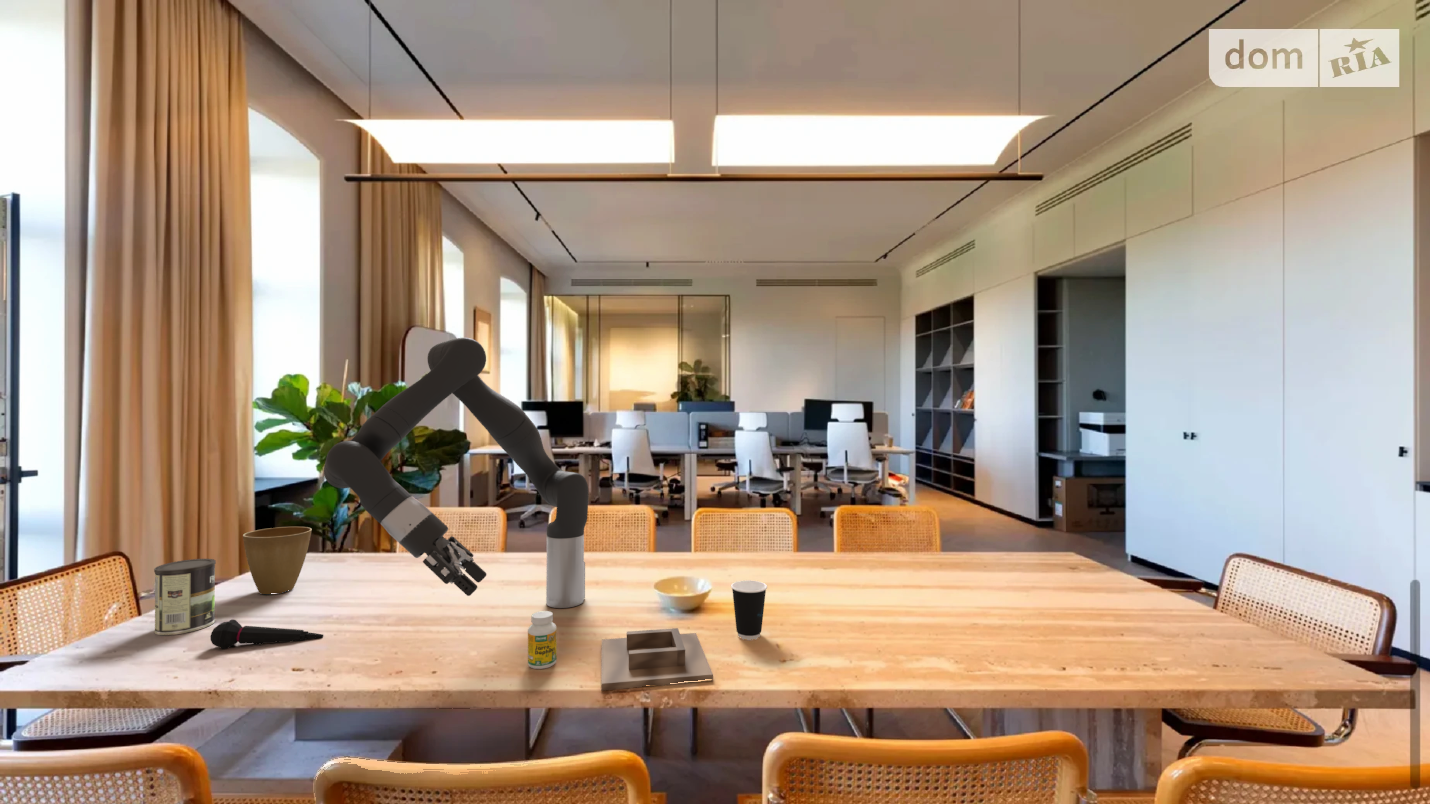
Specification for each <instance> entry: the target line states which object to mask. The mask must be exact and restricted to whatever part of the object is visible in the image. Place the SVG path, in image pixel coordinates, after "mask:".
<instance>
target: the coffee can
mask: <svg viewBox="0 0 1430 804" xmlns="http://www.w3.org/2000/svg"><path fill="white" fill-rule="evenodd" d="M216 564H217V563H216V560H215V559H213V558H192V559H184V560H177V561H172V562H168V563H164V564H161V565H158V566H156V567H154V568H153V572H154V632H153V633H154V634H155V635H157V636H173V635H181V634H186V633H190V632H192V633H193V632H194V631H198V630H202V629H205V628H208V627H210V626H212V625H213V624H214V623H215V622H216V618H215V615H216V614H215V611H216V610H215V609H216V608H215V607H216V605H215V602H216V601H215V598H216V595H215V592H216V591H215V589H216V585H215V584H216V582H215V579H216Z"/></svg>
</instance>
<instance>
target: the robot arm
mask: <svg viewBox="0 0 1430 804" xmlns="http://www.w3.org/2000/svg"><path fill="white" fill-rule="evenodd" d="M486 364H487V354H486V351H485V349H484V346H483V345H482V344H481V343H480V342H479V341H477V340H475V339H473V338H471V337H457V338H454V339H450V340H446V341H442V342H440V343H438V344H435V345H434V346H432V347H431V348H430V350H429V351H428V354H427V365H428V368H429V370H430V371H429V372H427V373H426V374H425V375H424V376H423V377H421V378H420V379H419V380H417V381H416V382H414V383H413V384H411V385H410V386H408V387H407V388H405V389H404V390H402V391H401V392H399V393H397V394H396V395H394V397H391V398H390V399H389V400H388V401H387V402H385V404H383V405H382V406H381V407H380V408H379V409H378V410H377V411H375V412H374V413H373V414H371V416H370V417H369V418H368V419H366V421H364V423H363V424H362V425H361V427H360V428H359V430H358V432H357V433H356V434H355V435H354V436H353V437H352V438H351V439H350V440H343V441H340V442H338V443H336V444H334V445H333V446H332V447H331V448H330V450H329V451H328V452H327V455H326V457H325V463H324V467H323V475H324V478H325V480H326V481H327V483H328V484H329V485H331V486H333V487H335V488H337V489H351V490H352V491H353V492H354V494H356V496H357V497H358V498H359V502H360V505H361V506H362V508H363V509H364V510H365V511H366V512H367V513H368V514H369V515H370V516H372V518H374V520H375V521H377V522H378V523H379V524H380V525H381V526H382V527H383V529H384V530H385V531H386V532H387V533H388V534H389V535H390V536H391V537H392V538H393V539H394V540H395V541H396V542H397V543H398V544H399V545H401V546H402V547H403V548H404V549H405V550H406V551H407V552H408V553H409V554H411V555H412V556H413V557H414V558H415V559H418V558H421V557H422V556H423V555H424V554H425V555H426V557H425V558H424V559H423V560H422V563H423V565H425V566H426V567H427V568H429V570H430V571H431V572H432V573H433V574H434V575H436V577H438V579H440V580H441V581H442V582H443V583H444V584H445V585H448V584H451V585H453V584H454V585H455V586H456V587H457V588H458V589H459V590H460V591H461V592H463V594H465V596H467V597H470V596H472V594H473V593H474V592H475V591H476V590H477V589H478V585H477V584H476V583H480V582H481V581H483V580H484V579H485V577H486V576H487V572H486V571H485V570H484V569H482V568H481V567H480V566H479V565H478V564H477V563H476V562H475V559H474V558H473V557H474V554H473V553H472V552H471V551H470V550H469V549H468V548H466V547H465V545H463V544H462V542H460V541H459V540H458V539H456V538H455V537H454V536H453V535H451V536H450V537H449V538H445V536H444V535H445V534H447V532H448V531H449V526H447V525H446V524H445V523H444V522H443V521H442V520H441V519H440V518H439V517H437V515H436V514H435V513H433V512H432V511H431V510H430V509H429V508H428V507H427V505H425V504H424V503H422V502H421V501H419V500H418V499H416V498H415V497H414V496H413V495H412V494H410V492H408V491H407V490H406V489H405V488H404V487H403V486H402V485H401V484H399V483H398V482H397V481H396V480H395V479H394V478H393V476H392V475H391V474H390V472H389V471H388V469H387V468H386V467H385V466H384V464H383V463H382V461H383V459H384V458H385V457H386V455H387V454H388V453H389V452H390V451H392V449H394V448H395V446H397V445H398V444H399V443H400V442H401V441H402V440H403V439H405V437H407V435H408V434H409V433H410V432H412V430H413V429H414V428H415V427H417V425H418V424H419V423H420V422H421V421H422V420H423V419H424V418H425V417H426V416H427V415H429V414H430V412H432V411H433V410H434V409H435V408H436V407H438V406H439V405H440V404H441V403H442V402H443V401H445V400H446V399H447V398H448V397H449V396H450V395H451V394H452V395H454V396H455V397H456V398H457V399H458V400H459V401H460V402H461V403H462V404H463V405H464V406H465V407H466V408H467V409H468V410H469V412H470V413H471V414H472V415H473V416H474V418H475V419H477V421H478V422H479V423H480V424H481V426H482V427H483V428H484V429H485V430H486V431H487V432H488V433H489V435H490V436H491V437H492V438H493V440H494V441H495V442H496V443H497V445H499V446H500V448H501V449H502V450H504V452H505V453H506V454H507V456H509V457H510V458H511V459H512V461H513V462H514V463H515V464H516V465H517V466H518V467H519V469H521V470H522V471H523V473H525V475H526V476H527V477H528V479H529V480H530V482H531V483H532V484H533V486H534V488H535V490H536V491H537V492H538V494H539V495H540V497H541V498H542V499H543V500H544V501H545V502H546V503H547V504H549V505H550V506H552V507H555V508H556V514H555V519H554V520H553V521H551V522H549V523H548V524H547V526H546V585H545V589H546V591H545V592H546V593H545V594H546V598H545V602H546V606H548V607H550V608H553V609H554V608H555V609H567V608H573V607H577V606H580V605H581V604H583V603H584V599H585V598H586V562H585V527H586V525H587V521H588V513H589V495H590V494H589V493H590V492H589V485H588V482H587V479H586V478H585V476H584V475H582V474H580V473H578V472H573V471H565V470H562V469H561V468H560V467H559V466H558V465H557V464H556V463H555V462H554V461H553V460H552V459H551V458H550V456H549V455H548V454H547V452H546V450H545V448H544V445H543V441H542V437H541V434H540V432H539V429H538V427H537V426H536V425H535V424H534V422H533V421H532V419H530V417H529V416H528V415H527V414H526V412H524V410H523V409H522V408H521V407H520V406H518V404H516V403H514V401H512V400H510V399H509V398H507V397H505V396H504V395H502V394H500V393H499V392H497V391H496V390H494V389H493V388H492V387H490V386H488V385H487V384H486V383H485V381H483V380H482V378H481V377H480V376H479V375H480V374H481V373H482V372H483V370H484V369H485V366H486ZM462 570H464V573H463V571H462ZM465 573H466V574H467V575H469V576H470V577H471V578H472V579H473V580H474V581H475V582H476V583H475V582H474V581H472V579H470V578H469V577H468V576H467V575H466V574H465Z"/></svg>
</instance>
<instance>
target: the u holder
mask: <svg viewBox="0 0 1430 804" xmlns="http://www.w3.org/2000/svg"><path fill="white" fill-rule="evenodd" d="M704 651H705V650H704V649H703V646H702V644H701V642H700V640H699V637H698V634H697V632H689V633H680V630H679V628H678V627H676V628H673V627H672V628H661V629H646V630H645V629H644V630H627V631H626V637H617V638H605V639H602V638H601V671H600V672H601V675H600V676H601V680H600V681H601V688H600V689H601V690H600V691H610V690H611V691H613V690H626V689H634V688H633V687H637V688H643V687H642V686H646V685H661V686H665V685H664V684H670V683H678V682H684V681H698V680H705V679H713V680H714V673H713V671H712V668H711V666H710V664H709V661H708V659H707V657H706V654H705V652H704Z"/></svg>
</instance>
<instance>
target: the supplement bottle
mask: <svg viewBox="0 0 1430 804" xmlns="http://www.w3.org/2000/svg"><path fill="white" fill-rule="evenodd" d="M530 620H531V624H530V626H529V627H528V629H527V664H528V667H529V668H531V669H535V670H544V669H548V668H551V667H553V666H554V665H555V664H556V663H557V659H558V658H557V657H558V654H557V639H558V638H557V634H558V633H557V630H558V629H557V625H556V623H554V622H553V620H554V614H553V611H550V610H549V611H548V610H542V611H536V612H534V613H532V615H531V619H530Z"/></svg>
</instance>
